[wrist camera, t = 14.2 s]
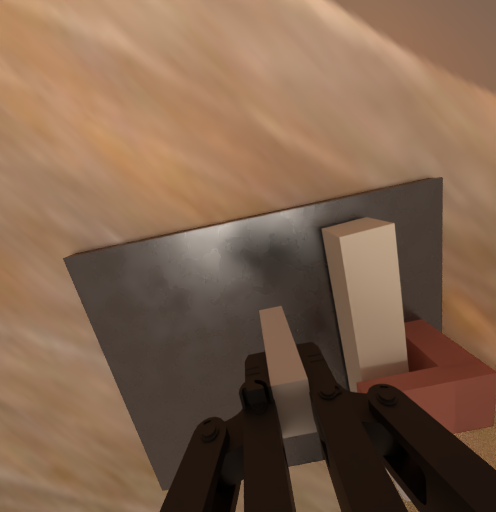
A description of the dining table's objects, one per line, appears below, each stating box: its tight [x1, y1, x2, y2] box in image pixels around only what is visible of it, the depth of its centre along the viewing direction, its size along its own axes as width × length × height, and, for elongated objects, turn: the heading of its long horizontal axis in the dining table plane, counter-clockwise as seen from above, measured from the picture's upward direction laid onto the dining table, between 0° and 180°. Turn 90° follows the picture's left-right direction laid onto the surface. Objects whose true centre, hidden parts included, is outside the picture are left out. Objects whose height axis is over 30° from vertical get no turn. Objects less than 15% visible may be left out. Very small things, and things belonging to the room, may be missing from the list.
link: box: [322, 217, 411, 502], centre depth 21 cm, size 25×6×7 cm, turn 14°
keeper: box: [356, 319, 496, 434], centre depth 22 cm, size 5×10×8 cm, turn 102°
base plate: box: [63, 177, 443, 491], centre depth 26 cm, size 30×34×2 cm
